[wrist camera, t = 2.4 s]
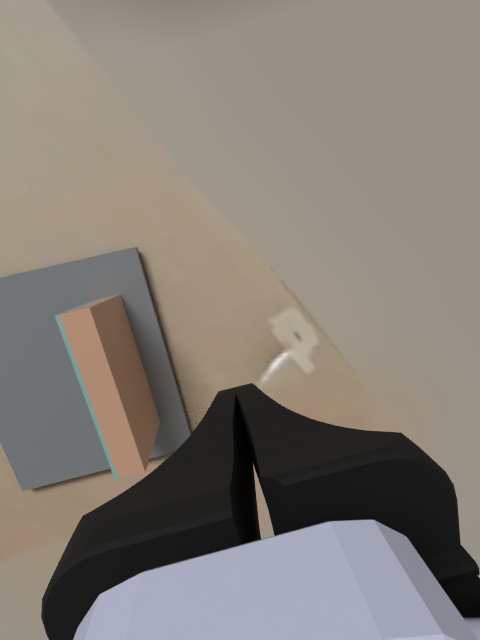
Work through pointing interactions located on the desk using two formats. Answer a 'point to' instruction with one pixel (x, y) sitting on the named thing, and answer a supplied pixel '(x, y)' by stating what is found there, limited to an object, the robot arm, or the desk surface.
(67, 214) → the desk surface
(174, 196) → the desk surface
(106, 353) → the tan wooden block
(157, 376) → the mat
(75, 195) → the desk surface
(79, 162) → the desk surface
